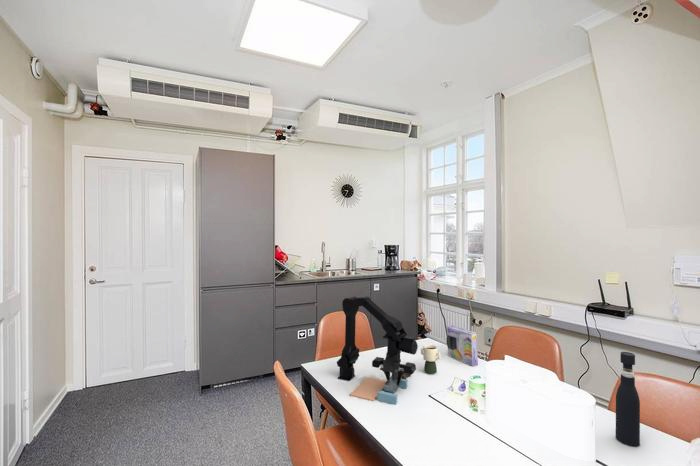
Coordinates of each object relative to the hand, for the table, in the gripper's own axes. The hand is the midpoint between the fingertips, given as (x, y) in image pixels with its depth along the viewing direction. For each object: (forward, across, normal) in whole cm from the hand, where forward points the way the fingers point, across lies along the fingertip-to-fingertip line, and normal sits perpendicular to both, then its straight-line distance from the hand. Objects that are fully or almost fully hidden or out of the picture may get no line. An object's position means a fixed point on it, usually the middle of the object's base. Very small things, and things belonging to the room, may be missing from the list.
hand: (393, 384), depth 148 cm
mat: (+4, -11, 0) cm, 12 cm away
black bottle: (+4, +83, +2) cm, 83 cm away
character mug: (+4, +10, +30) cm, 31 cm away
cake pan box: (+4, +22, +54) cm, 58 cm away
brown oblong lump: (+4, 0, +17) cm, 18 cm away
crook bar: (+2, 0, -1) cm, 2 cm away
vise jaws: (+4, 0, 0) cm, 4 cm away
